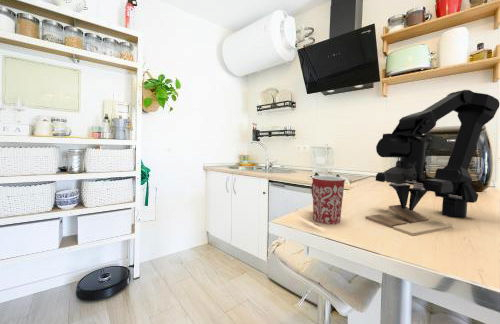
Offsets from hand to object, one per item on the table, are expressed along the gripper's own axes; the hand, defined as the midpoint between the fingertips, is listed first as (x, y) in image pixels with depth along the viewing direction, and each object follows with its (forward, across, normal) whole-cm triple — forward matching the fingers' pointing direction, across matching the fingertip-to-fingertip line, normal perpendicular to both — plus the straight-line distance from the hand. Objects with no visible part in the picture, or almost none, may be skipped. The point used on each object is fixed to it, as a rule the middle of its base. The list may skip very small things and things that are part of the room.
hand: (407, 209), depth 65 cm
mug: (+4, -8, -24) cm, 26 cm away
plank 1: (+3, +1, -10) cm, 10 cm away
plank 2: (+1, +1, -1) cm, 2 cm away
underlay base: (+4, +3, -6) cm, 7 cm away
